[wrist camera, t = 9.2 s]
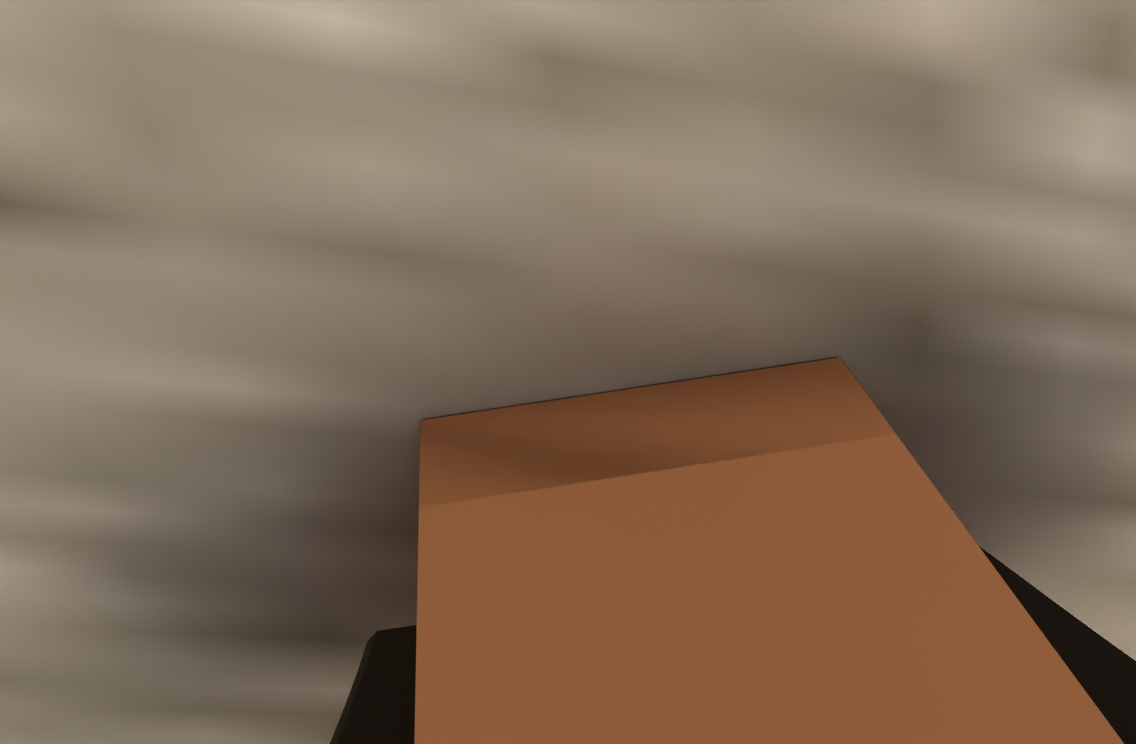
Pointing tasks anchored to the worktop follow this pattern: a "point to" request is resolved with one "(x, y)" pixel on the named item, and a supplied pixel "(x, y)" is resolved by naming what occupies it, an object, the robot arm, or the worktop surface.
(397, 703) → the robot arm
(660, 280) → the worktop surface
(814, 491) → the wedge
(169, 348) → the worktop surface
